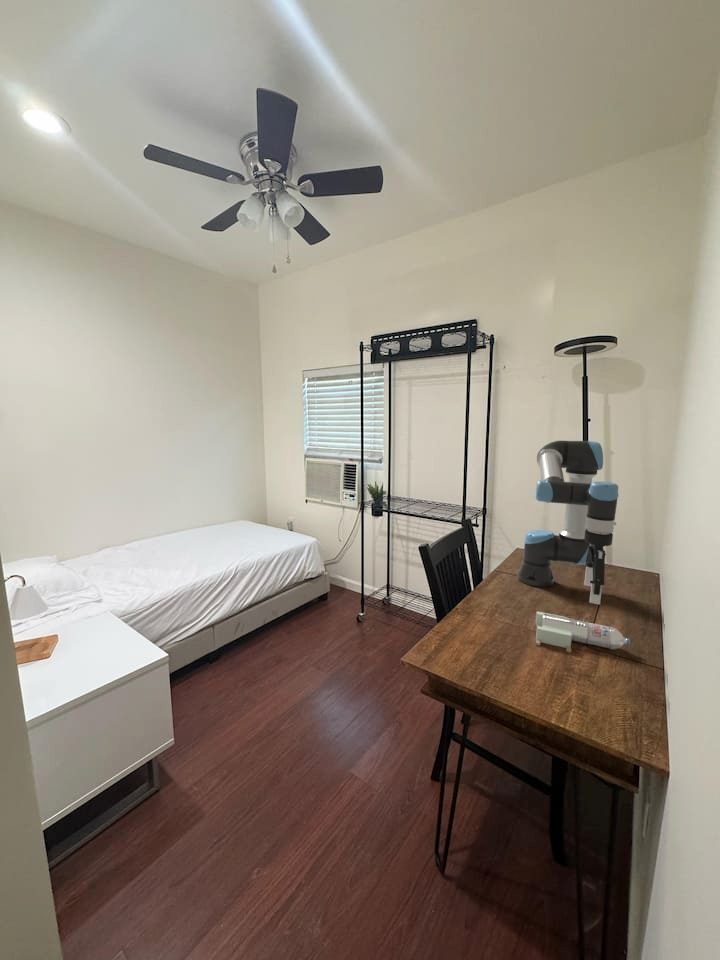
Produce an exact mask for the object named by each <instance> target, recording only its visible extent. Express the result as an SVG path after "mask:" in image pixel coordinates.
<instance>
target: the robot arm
mask: <svg viewBox="0 0 720 960" xmlns="http://www.w3.org/2000/svg"><path fill="white" fill-rule="evenodd" d="M603 452H604V451H603V447H602V444H600V443H599V442H598V441H588V440H555V441H551V442H549V443H547V444H545V445H544V446H543V447H542V448H540V450H539V451H538V453H537V455H536V463H537V465H538V467H539V468H540V469H539V470H540V480H538V481H536V482H537V483H536V489H535V500H537V501H538V502H543V503H551V504H552V503H553V504H563V505H564V504H566V506H565V513H564V523H563V529H561V530H559V534H558V535H556V534H555V533H554V532H553V531H551V530H547V529H534V530H529V531H527V532H526V533H525V536H524V537H525V538H524V540H523V543H524V544H523V545H524V547H523V557H522V563H521V565H520V567H519V570H518V571H517V579H518V580H519V581H520V582H521V583H524V584H526V585H529V586H532V587H538V588H539V587H541V588H545V587H546V588H547V587H551V586H553V585H554V584H555V583H554V582H555V579H554V578H555V577H554V575H553V574H554V573H553V571H552V562H557V563H565V564H570V565H580V566H581V565H583V566H585V565H586V566H585V575H584V582H583V586H586V587H590V593H589V601H588V603H590V604H595V605H601V600H602V591H603V586H604V585H605V567H606V566H605V564H606V562H605V560H606V551H605V549H604V547H609V546H611V545H612V544H613V538H614V535H613V532H614V526H617V522H616V521H615V520H616V512H617V504H618V498H619V495H620V494H619V485H618V484H617V483H613V482H609V481H597V480H596V481H593V478H594V477H596V476H597V475H598V471H601V470H602V469H603V466H604V453H603ZM563 469H565V473H566V474H567V475H568V481H565V476H564V472H563Z"/></svg>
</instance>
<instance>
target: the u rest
mask: <svg viewBox="0 0 720 960" xmlns="http://www.w3.org/2000/svg"><path fill="white" fill-rule="evenodd" d="M543 614H549V615H555V616H560V617H564V618H569V617H567V616H563V615H559V614H558V615H557V614H552V613H547V612H544V611H543V612H542V611H536V615H535V626H536V635H535V645H537V646H541V643H543V644H547V645H551V646H556V647H561V648H565V650H566V653H572V647H571V645H572V640H571V638H572V635H571V633H570V632H565V631H560V630H555V629H551V628H546V627H542V616H543Z"/></svg>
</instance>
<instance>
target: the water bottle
mask: <svg viewBox="0 0 720 960" xmlns="http://www.w3.org/2000/svg"><path fill="white" fill-rule="evenodd" d="M549 614H550V613H548V614H543V616H542V627H546V628H551V629H555V630H560V631H565V632H570V633H571V635H572V638H571V642H572V641H573V642H577V643H582V644H587V645H593V646H596V647H597V646H598V647H601V648H605V649H609V650H613V651H614V650H616V649H617V650H618V649H620V648H621V647H623V645H624V644H625V645H628V646H630V644H631V639H630V638H628V637H625V636H623V634H622V633H621V632H620V631H619V630H618V629H617V628H615V627H614V626H606V625H602V624H597V623H591V622H587V621H586V620H585V621H583V620H580V619H578V620H577V619H573V618H569V617H568V618H564V617H565V616H563V617H560V616H561V615H558V616H555V615H556V614H553V615H549Z"/></svg>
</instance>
